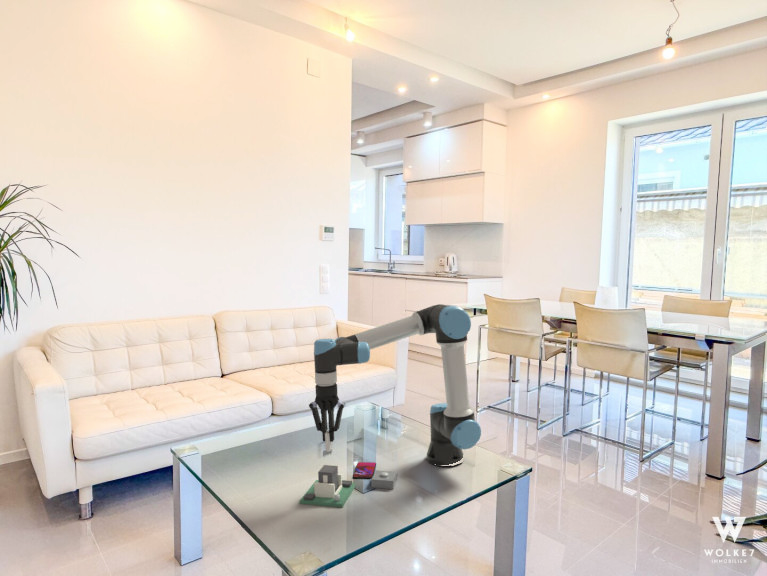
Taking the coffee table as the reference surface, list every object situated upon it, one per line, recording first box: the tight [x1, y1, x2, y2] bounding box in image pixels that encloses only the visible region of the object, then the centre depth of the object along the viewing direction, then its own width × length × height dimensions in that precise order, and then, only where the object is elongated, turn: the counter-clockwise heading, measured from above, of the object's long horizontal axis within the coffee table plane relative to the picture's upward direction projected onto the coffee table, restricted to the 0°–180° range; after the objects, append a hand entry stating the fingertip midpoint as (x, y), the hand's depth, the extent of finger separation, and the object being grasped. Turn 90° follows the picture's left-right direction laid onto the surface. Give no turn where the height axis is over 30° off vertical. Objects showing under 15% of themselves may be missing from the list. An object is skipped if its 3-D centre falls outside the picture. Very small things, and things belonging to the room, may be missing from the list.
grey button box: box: [370, 469, 398, 490], centre depth 177 cm, size 8×8×4 cm
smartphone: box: [352, 461, 377, 480], centre depth 189 cm, size 8×1×15 cm
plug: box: [317, 464, 339, 492], centre depth 169 cm, size 5×6×8 cm
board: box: [299, 473, 356, 508], centre depth 169 cm, size 15×16×6 cm
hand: (328, 450), depth 169 cm, fingers closed
